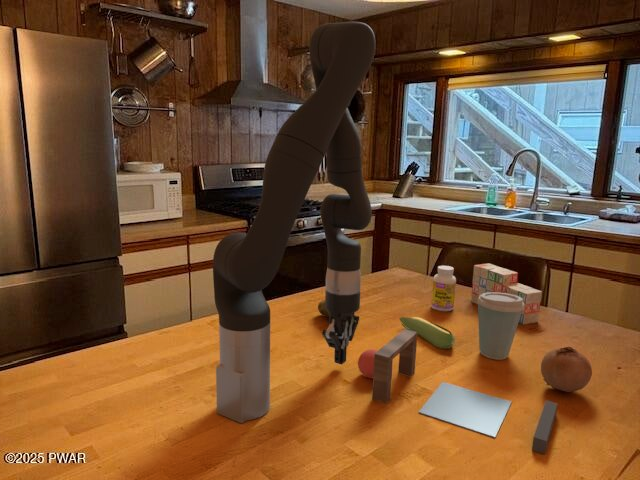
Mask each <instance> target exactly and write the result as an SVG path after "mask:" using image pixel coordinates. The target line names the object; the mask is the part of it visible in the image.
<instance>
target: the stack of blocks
mask: <svg viewBox="0 0 640 480" xmlns="http://www.w3.org/2000/svg"><path fill="white" fill-rule="evenodd" d="M518 278H519V273H518V272H517V271H514V270H511V269H508V268H504V267H500V266H498V265H495V264H493V263H481V264H480V263H479V264H474V265H473V275H472V285H471V286H472V287H471V295H470V296H471V297H470V302H472V303H474V304H476V305H478V303H477V301H478V298H479V296H480V295H481V294H483V293H487V292H499V293H507V294H512V295H516V296H519V297H521V298H523V300H522V302H524V310H523V311H522V313H521V316H520V319H519V323H518V324H520V325H522V326H523V325H528V324H534V323H538V322H539V316H540V315H539V314H540V308H541V302H542V297H543V296H542V294H543V291H542V290H539V289H536V288H533V287H531V286H528V285H524V284H522V283H519V281H518V280H519V279H518Z"/></svg>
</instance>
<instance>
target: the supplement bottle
mask: <svg viewBox="0 0 640 480" xmlns="http://www.w3.org/2000/svg"><path fill="white" fill-rule="evenodd" d="M454 272H455V269H454V267H453V266H449V265H438V266H437V273H436V274H435V275H434V276H433V281H432V289H431V290H432V292H431V304H430V306H431V308H432V309H433V310H436V311H437V312H438V311H439V312H451V311H452V310H454V306H455V298H456V297H455V295H456V288H457V278H456V276H455V275H454Z"/></svg>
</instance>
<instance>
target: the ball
mask: <svg viewBox="0 0 640 480" xmlns="http://www.w3.org/2000/svg"><path fill="white" fill-rule="evenodd" d="M377 351H378V350H376V349H373V348H372V349H366V350H364V351H363V352H362V353H361V354H360V356H359V357H358V361H357V367H358V369H359V372H360V373H361V375H363V376H364V377H366V378H369V379H373V374H374V355H375V353H376V352H377Z"/></svg>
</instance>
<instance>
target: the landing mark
mask: <svg viewBox="0 0 640 480" xmlns="http://www.w3.org/2000/svg"><path fill="white" fill-rule="evenodd" d="M512 403H513V402H512V401H510V400H507V399H504V398H500V397H496V396H493V395H489V394H487V393H483V392H480V391H476V390H472V389H469V388H465V387H462V386H460V385H459V386H458V385H455V384H452V383H448V382H445V381H442V382H441V383H440V384H439V386H437V388H436V389H435V391H434V392H433V393H432V395H431V396H430V397H429V398H428V399H427V401H426V402H425V404H424V405H423V406H422V407H421V408H420V410H419V411H418V414H420V415H425V416H427V417H430V418H433V419H436V420H439V421H442V422H445V423H449V424H452V425H454V426H457V427H460V428H463V429H465V430H470V431H472V432H476V433H479V434H481V435H484V436H488V437H490V438H494V439H496V437H497V435H498V433H499V430H500V428H501V427H502V425H503V422H504V421H505V418H506V416H507V414H508V412H509V409H510V407H511V405H512Z"/></svg>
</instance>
